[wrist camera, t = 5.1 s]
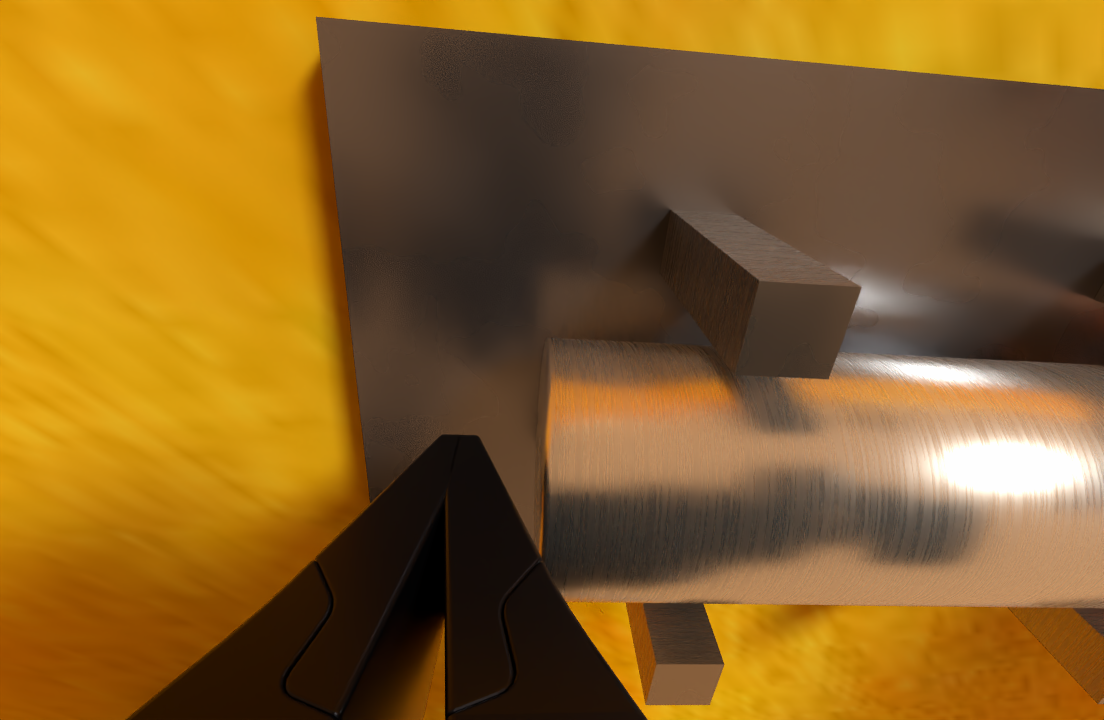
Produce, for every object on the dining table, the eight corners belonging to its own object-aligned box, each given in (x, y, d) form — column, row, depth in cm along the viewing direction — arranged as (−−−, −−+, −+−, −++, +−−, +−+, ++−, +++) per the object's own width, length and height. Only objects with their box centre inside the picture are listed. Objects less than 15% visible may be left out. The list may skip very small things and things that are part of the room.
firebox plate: (1063, 557, 16) (1277, 742, 11) (387, 544, 14) (323, 750, 10) (1384, 120, 10) (2058, 141, 6) (337, 24, 9) (137, -49, 4)
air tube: (1156, 499, 13) (1438, 681, 9) (532, 481, 12) (535, 680, 8) (1286, 336, 11) (1726, 478, 7) (545, 295, 10) (559, 436, 6)
